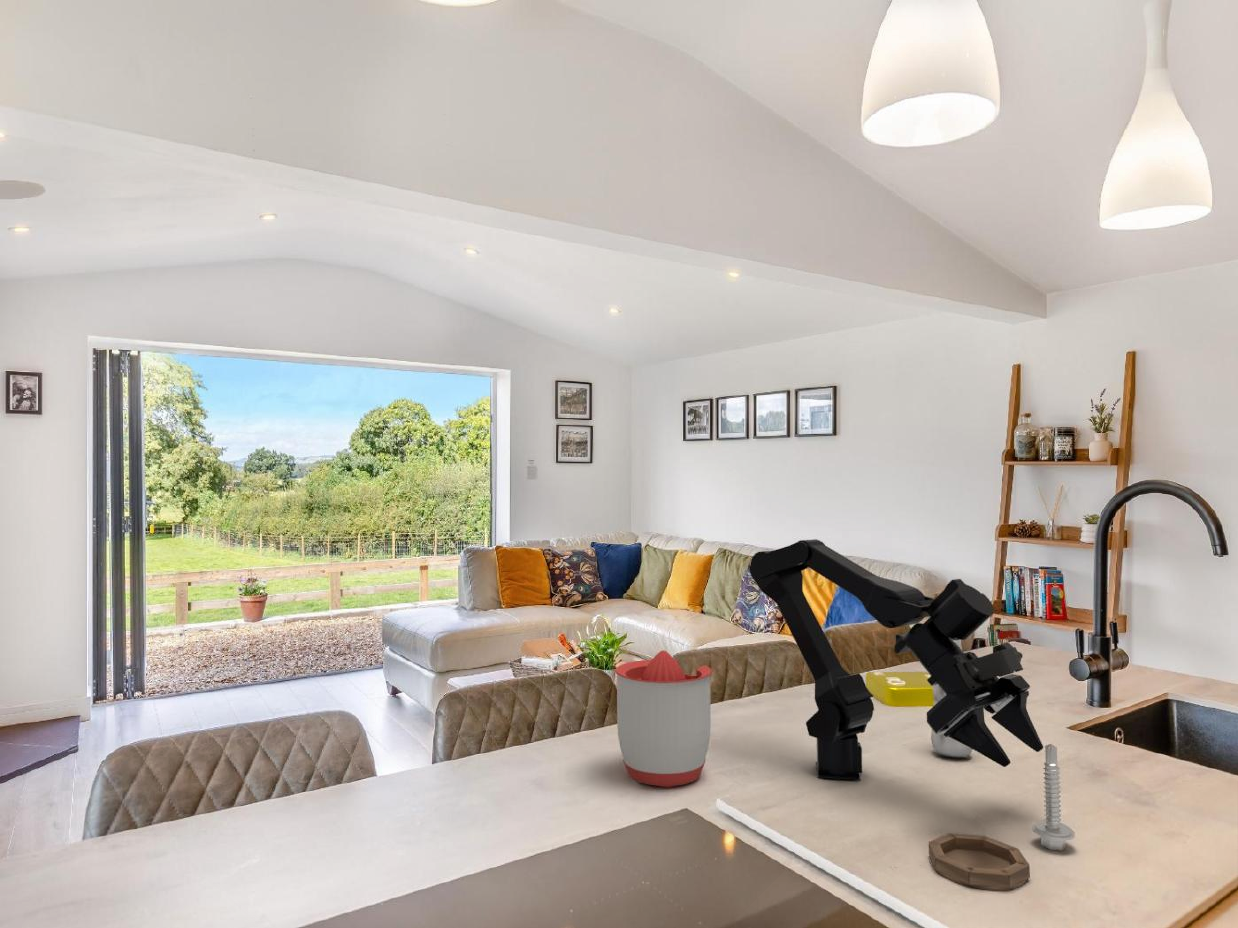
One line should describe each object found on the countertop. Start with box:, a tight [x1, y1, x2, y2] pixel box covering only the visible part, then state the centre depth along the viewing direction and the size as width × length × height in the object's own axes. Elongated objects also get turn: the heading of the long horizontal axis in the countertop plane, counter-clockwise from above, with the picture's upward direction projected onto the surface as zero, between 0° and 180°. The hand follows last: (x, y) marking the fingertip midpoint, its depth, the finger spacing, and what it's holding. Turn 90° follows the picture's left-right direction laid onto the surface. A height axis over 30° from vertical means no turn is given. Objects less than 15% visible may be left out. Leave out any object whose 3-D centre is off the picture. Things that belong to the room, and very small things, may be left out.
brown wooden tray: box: [928, 832, 1031, 892], centre depth 95 cm, size 11×11×2 cm
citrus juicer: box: [614, 650, 713, 789], centre depth 127 cm, size 16×17×20 cm
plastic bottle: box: [930, 638, 973, 758], centre depth 135 cm, size 6×7×20 cm
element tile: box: [865, 671, 934, 708], centre depth 173 cm, size 15×15×5 cm
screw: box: [1031, 743, 1076, 852], centre depth 101 cm, size 13×5×5 cm
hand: (1024, 757), depth 103 cm, fingers open, 9 cm apart
